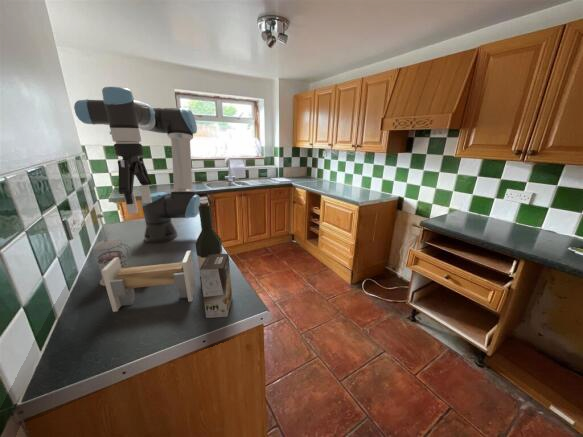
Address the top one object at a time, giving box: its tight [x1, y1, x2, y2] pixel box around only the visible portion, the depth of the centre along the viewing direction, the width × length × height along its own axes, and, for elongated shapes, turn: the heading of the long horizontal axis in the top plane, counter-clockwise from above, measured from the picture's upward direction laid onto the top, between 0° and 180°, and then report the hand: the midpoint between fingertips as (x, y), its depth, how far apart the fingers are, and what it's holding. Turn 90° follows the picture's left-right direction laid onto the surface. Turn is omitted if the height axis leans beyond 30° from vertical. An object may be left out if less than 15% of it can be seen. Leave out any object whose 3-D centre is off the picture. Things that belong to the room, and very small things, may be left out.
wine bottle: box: [194, 201, 224, 288], centre depth 81 cm, size 8×8×30 cm
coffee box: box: [199, 253, 233, 319], centre depth 71 cm, size 9×6×16 cm
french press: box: [92, 213, 131, 287], centre depth 86 cm, size 10×12×25 cm
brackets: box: [101, 250, 197, 313], centre depth 76 cm, size 8×22×14 cm, turn 103°
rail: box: [116, 261, 184, 289], centre depth 75 cm, size 4×18×5 cm, turn 103°
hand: (141, 207), depth 82 cm, fingers open, 13 cm apart
